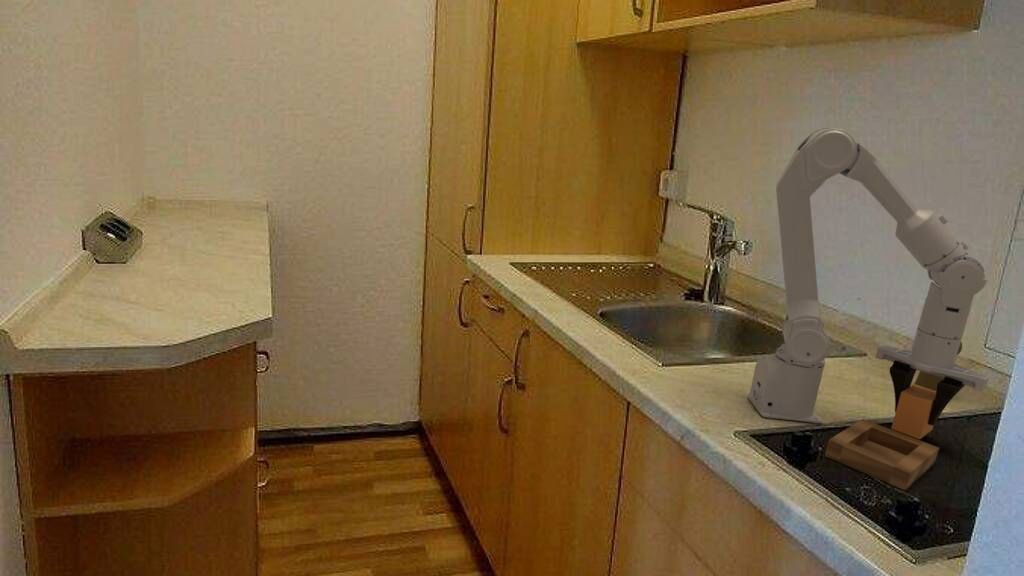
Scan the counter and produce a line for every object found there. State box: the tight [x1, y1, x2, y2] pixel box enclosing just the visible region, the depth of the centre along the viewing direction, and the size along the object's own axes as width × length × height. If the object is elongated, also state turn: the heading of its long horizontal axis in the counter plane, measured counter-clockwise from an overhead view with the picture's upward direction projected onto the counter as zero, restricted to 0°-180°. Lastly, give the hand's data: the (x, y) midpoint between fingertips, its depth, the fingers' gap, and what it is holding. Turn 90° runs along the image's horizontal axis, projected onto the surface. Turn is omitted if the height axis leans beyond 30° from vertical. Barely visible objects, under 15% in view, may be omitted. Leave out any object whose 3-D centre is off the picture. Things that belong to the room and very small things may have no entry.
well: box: [824, 418, 940, 491], centre depth 98 cm, size 12×10×2 cm
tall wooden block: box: [890, 383, 936, 440], centre depth 106 cm, size 6×4×6 cm, turn 134°
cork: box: [914, 341, 963, 391], centre depth 126 cm, size 6×6×11 cm
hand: (915, 417), depth 106 cm, fingers closed on tall wooden block, 4 cm apart
